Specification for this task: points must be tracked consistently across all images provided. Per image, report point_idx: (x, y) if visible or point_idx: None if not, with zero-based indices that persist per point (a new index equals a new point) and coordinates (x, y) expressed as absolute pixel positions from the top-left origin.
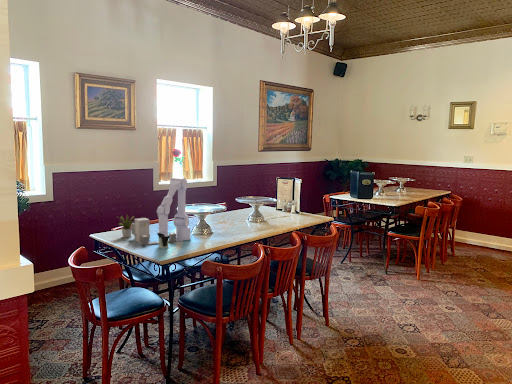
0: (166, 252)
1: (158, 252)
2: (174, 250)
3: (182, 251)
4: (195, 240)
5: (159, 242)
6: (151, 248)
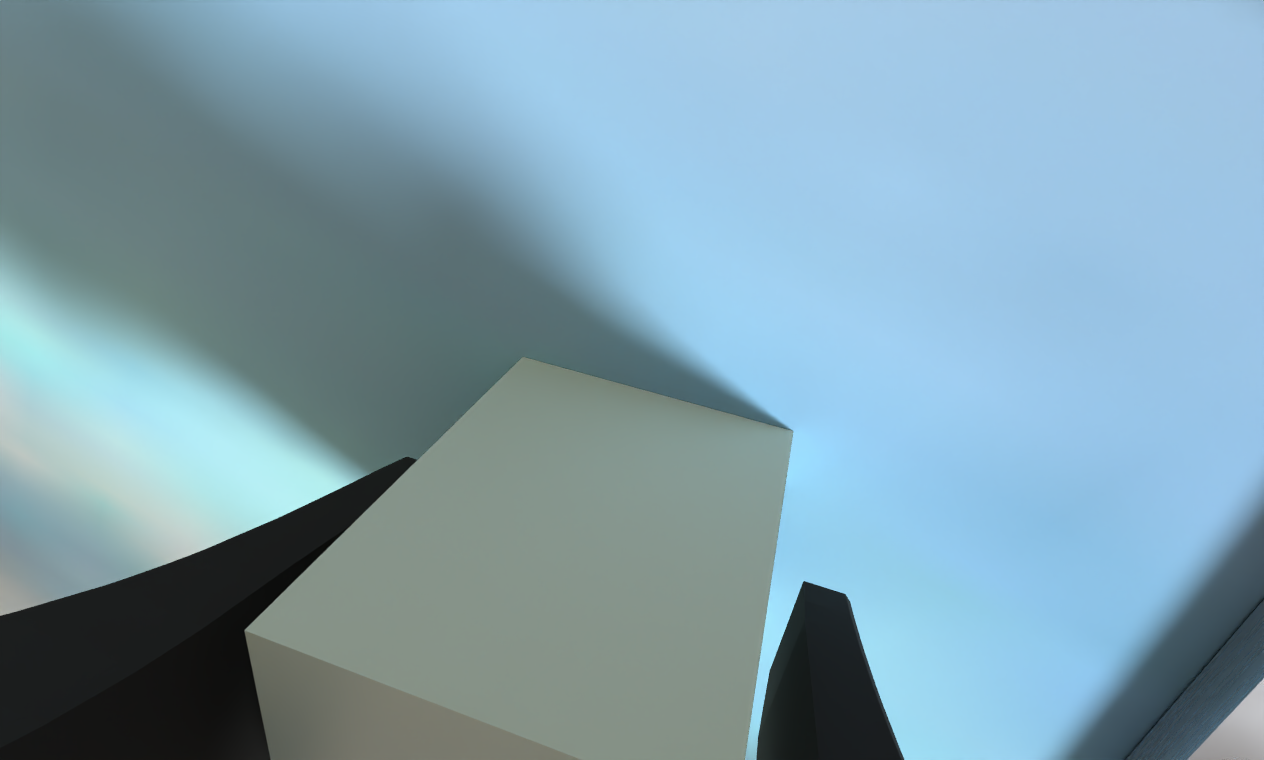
0: (28, 256)
1: (47, 24)
2: (181, 513)
3: (76, 573)
4: None
5: (603, 530)
6: (731, 29)
